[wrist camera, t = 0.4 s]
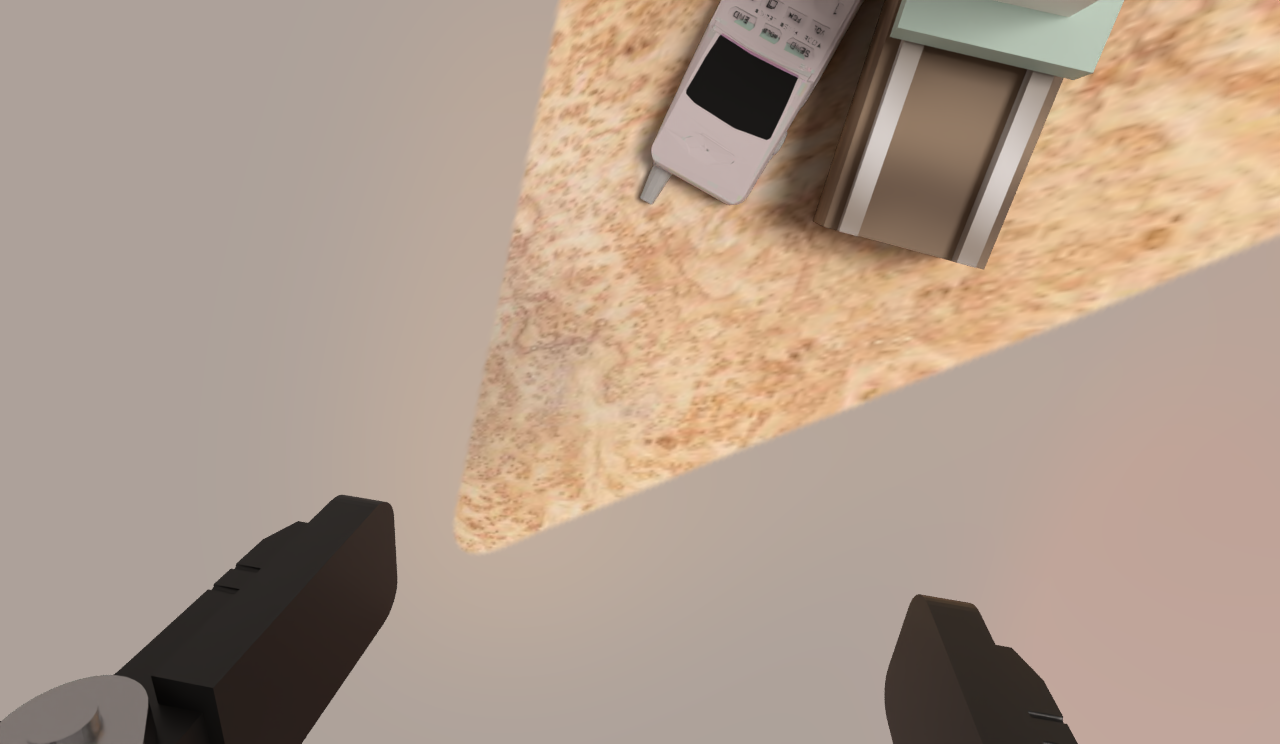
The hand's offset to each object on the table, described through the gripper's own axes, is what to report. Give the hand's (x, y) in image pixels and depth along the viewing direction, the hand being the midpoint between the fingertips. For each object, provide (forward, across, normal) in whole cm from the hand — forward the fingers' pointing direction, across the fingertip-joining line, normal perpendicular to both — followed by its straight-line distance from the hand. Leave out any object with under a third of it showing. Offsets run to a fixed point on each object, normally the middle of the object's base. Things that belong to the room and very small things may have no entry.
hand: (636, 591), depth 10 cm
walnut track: (+28, -10, -10) cm, 31 cm away
